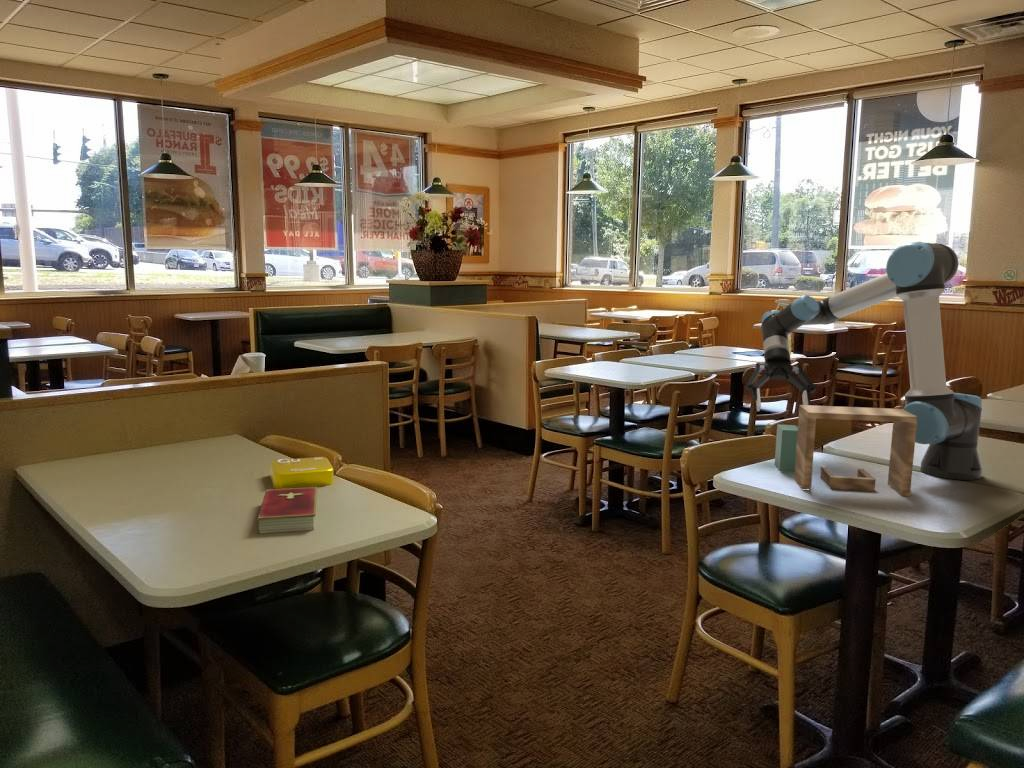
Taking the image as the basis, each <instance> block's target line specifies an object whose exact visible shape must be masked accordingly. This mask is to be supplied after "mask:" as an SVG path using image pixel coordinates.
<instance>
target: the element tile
mask: <svg viewBox="0 0 1024 768" xmlns="http://www.w3.org/2000/svg"><path fill="white" fill-rule="evenodd" d="M269 474H270V480H271V483H272V486H273V488H274V489H291V488H310V487H320V486H329V485H333V484H334V482H335V478H334V476H335V475H334V474H335V473H334V467H333V466H332V464H331V462H330V461H329V459H328V458H327V457H325V456H314V457H302V458H301V457H300V458H281V459H276V460H272V461H270V462H269Z"/></svg>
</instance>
